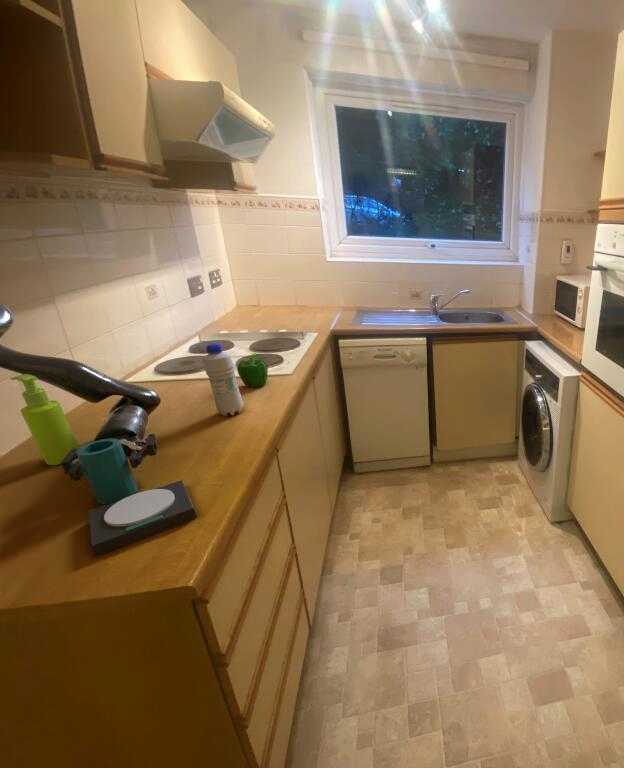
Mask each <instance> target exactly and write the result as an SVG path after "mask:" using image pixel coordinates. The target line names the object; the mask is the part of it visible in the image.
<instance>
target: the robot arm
mask: <svg viewBox="0 0 624 768" xmlns="http://www.w3.org/2000/svg"><path fill="white" fill-rule="evenodd" d="M13 324H14V315H13V313H12V311H11V310H10V309H9V307H7V306H6V305H5V304H4V303H2V302H1V301H0V339H1V338H3V336H4V335H5V334H7V333H8V331H10V330H11V328H12V326H13ZM0 368H1V369H4V370H7V371H10V372H13V373H15V374H16V373H17V374H19V375H23V374H28V375H32V376H35V377H37V380H38V381H41V382H43V383H46V384H48V385H51V386H54V387H56V388H58V389H60V390H62V391H63V392H67V393H68V394H71V395H73V396H75V397H77V398H79V399H82V400H84V401H86V402H88V403H91V404H99V403H101V402H103V401H104V400H106V399H108V398H110V397H113V396H119V397H120V398H119V399H118V400H117V402H115V403H114V404H113V405H112V406H111V407H110V409H109V410H108V412H107V417H108V418H107V419H106V420H105V422H104V423H103V424H102V425H101V427H100V429H99V431H98V432H97V434H96V436H95V437H94V440H93V442H94V441H98V440H103V439H118V440H119V441H120V443H121V446H122V448H123V451H124V453H125V456H126V458H127V459H129V463H130V467H131V469H136V468H137V469H138V467H139V465H142V464H143V461H144V460H145V459H146V456H150V457H153V456H156V455H157V454H158V447H159V442H158V440H157V436H156V434H155V433H150V434H148V435H147V437H145V434H146V432H147V431H146V430H147V426H148V423H149V417H150V415H151V414H153V412H154V411H156V409H157V408H159V406H160V405H161V403H162V402H161V401H162V399H161V396H160V395H159V393H157V392H156V391H155V390H153V389H152V388H149V387H147V386H145V385H139V384H136V383H131V382H127V381H125V380H121V379H117V378H114V377H111V376H109V375H108V374H106V373H104V372H101V371H99V370H97V369H95V368H93V367H91V366H89V365H88V364H85V363H83V362H80V361H78V360H74V359H69V358H64V357H56V356H46V355H39V354H32V353H26V352H23V351H22V352H21V351H18V350H15V349H12V348H9V347H7V346H6V345H3V344H0ZM142 446H144V447H142ZM77 450H78V449H73V450H71V451H69V453H68V454H67V455H66V456H65V458H64V459H63V460H62V461H61V463H60V464H59V465H60V466H61V467H62V469H63V472H64V474H65V475H68V476H69V478H70V480H71V481H74V482H79V481H81V480H82V478H83V476H84V475H85V473H84V470H83V468H82V466H81V464H80V461H79V459H78V457H77V455H76V451H77Z"/></svg>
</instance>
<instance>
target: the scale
mask: <svg viewBox="0 0 624 768" xmlns="http://www.w3.org/2000/svg"><path fill="white" fill-rule="evenodd" d="M197 517H198V516H197V513H196V510H195V507H194V505H193V503H192V500H191V498H190V496H189V493H188V491H187V488H186V486H185V484H184V482H183V479H181V480H178V481H175V482H171V483H169V484H166V485H162V486H159V487H156V488H152V489H148V490H143V491H140V492H137V493H136V492H135V493H134V494H133V495H131V496H129V497H126V498H124V499H122V500H120V501H117V502H114V503H110V504H104V505H103V506H100V507H96V508H94V509H91V510H88V521H89V532H90V542H91V543H90V544H91V545H90V546H91V548H92V550H93V553H94V555H95V557H98V556H100V555H104V554H105V553H108V552H111V551H114V550H117V549H119V548H122V547H124V546H127V545H130V544H132V543H134V542H137V541H140V540H142V539H145V538H148V537H150V536H153V535H155V534H157V533H160V532H162V531H165V530H168V529H170V528H173V527H176V526H178V525H181V524H184V523H186V522H188V521H191V520H194V519H196V518H197Z"/></svg>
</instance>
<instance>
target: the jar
mask: <svg viewBox="0 0 624 768" xmlns="http://www.w3.org/2000/svg"><path fill="white" fill-rule="evenodd" d="M76 455H77V457H78V459H79V461H80V464H81V466H82V468H83V470H84V475H85V478H86V479H87V481H88V484H89V487H90V488H91V490H92V494H93V495H94V497H95V500H96V501H97V503H98V504H101V505H108V504H111V503H114V502H117V501H120V500H122V499H124V498H126V497H129V496H131V495H134V494H136V492H138V489H139V487H138V483H137V482H136V479H135V476H134V474H133V471H132V468H131V465H130V464H129V461H128V458H127V457H126V456H125V453H124V451H123V448H122V446H121V443H120V441H119V440H118V439H103V440H98V441H94V440H93V441H92V442H89V443H86V444H85V445H83V446H80V447H79V449H78V450H77V451H76Z"/></svg>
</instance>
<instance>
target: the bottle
mask: <svg viewBox="0 0 624 768" xmlns="http://www.w3.org/2000/svg"><path fill="white" fill-rule="evenodd" d="M206 352H207V354H206V355H204V356H203V369H204V371H205V375H206V376H207V377H208V380H209V383H210V387H211V390H212V394H213V399H214V404H215V407H216V410H217V412H218V414H219V415H222V416H224V417H228V415H230V416H235V413H237V414H240V413H241V412H242V411H243V409H244V401H243V398H242V395H241V392H240V389H239V384H238V381H237V378H236V373H235V371H236V368H235V363H234V362H233V359H232V356H231V354H230V353H229V352H226V351H224V350H223V346H222V345H221V343H218V342H215V343H209V344H207V345H206Z"/></svg>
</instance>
